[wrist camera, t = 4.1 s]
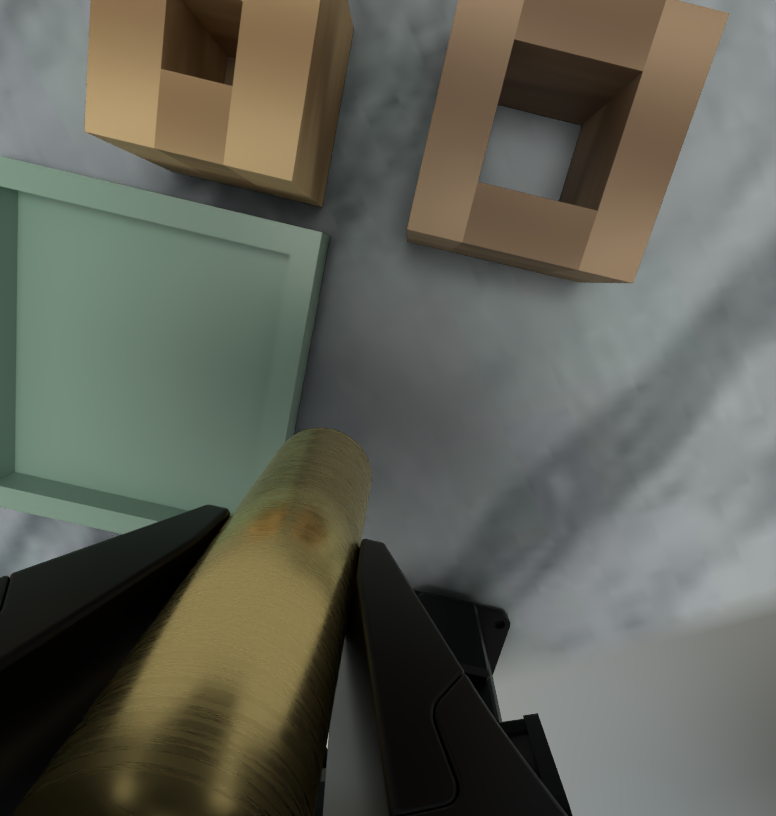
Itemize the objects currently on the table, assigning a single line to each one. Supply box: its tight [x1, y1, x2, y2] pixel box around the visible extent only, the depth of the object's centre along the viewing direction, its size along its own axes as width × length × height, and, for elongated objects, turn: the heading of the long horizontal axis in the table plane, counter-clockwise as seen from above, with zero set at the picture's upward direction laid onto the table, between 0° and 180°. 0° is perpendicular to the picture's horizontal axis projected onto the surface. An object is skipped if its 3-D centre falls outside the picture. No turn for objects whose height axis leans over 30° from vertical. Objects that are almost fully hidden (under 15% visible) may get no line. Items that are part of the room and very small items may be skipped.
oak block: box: [85, 0, 354, 207], centre depth 15 cm, size 6×6×5 cm
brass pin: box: [11, 428, 372, 816], centre depth 8 cm, size 2×2×8 cm
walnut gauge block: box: [407, 0, 729, 283], centre depth 15 cm, size 7×7×5 cm
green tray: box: [0, 156, 330, 534], centre depth 19 cm, size 14×13×2 cm
